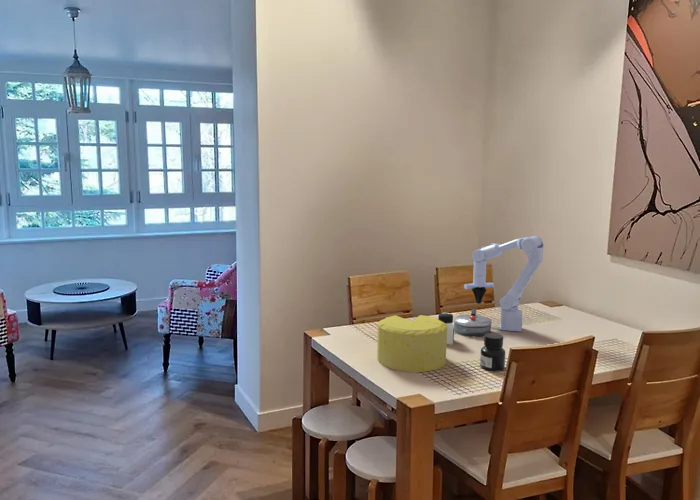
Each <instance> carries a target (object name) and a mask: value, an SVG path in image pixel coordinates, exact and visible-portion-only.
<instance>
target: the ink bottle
mask: <svg viewBox="0 0 700 500" xmlns="http://www.w3.org/2000/svg"><path fill="white" fill-rule="evenodd" d="M483 338H484V339H483V340H484V341H483V346H482V347H481V349H480V358H479V362H480V363H479V366H480V367H481V368H482V369H483V370H487V371H493V372H494V371H498V372H499V371H502V370H504V369H505V367H506V350H505V349H504V348H503V346H504V335H502V334H499V333H493V332H491V333H488V334H485V335H484V336H483Z"/></svg>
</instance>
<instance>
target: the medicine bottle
mask: <svg viewBox="0 0 700 500" xmlns="http://www.w3.org/2000/svg"><path fill="white" fill-rule="evenodd" d="M437 319H438V320H440V321H443V322H444V323H445V324H446V325H447V345H453V344H454V340H455V339H454V338H455V336H454V335H455V332H454V315H453V314H452V313H449V312H442V313H441V312H440V313H439V314H438V316H437Z"/></svg>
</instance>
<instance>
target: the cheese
mask: <svg viewBox="0 0 700 500" xmlns="http://www.w3.org/2000/svg"><path fill="white" fill-rule="evenodd" d="M447 345H448V344H447V325H446V324H445V323H444V322H443V321H440V320H438V318H436V317H432V316H429V315H423V314H420V315H418V316H417V317H416V318H415V319H414V320H413V321H412V320H410V319H407V318H403V317H402V316H398V315H391V316H387V317H385V318H383V319H381V320H379V321H378V324H377V351H376V353H377V356H376V357H377V358H376V360H377V362H378V363H379V364H381V365H382V366H384V367H386V368H389V369H392V370H396V369H397V370H396V371H401V370H402V371H401V372H412V373H413V372H414V373H415V372H416V373H417V372H418V373H419V372H428V371H435V370H438V369H441V368H442V367H444V366H446V362H447Z"/></svg>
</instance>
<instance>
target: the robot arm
mask: <svg viewBox="0 0 700 500" xmlns="http://www.w3.org/2000/svg"><path fill="white" fill-rule="evenodd" d="M544 247H545V244H544V241H543V239H542V238H541V237H540V236H539V235H532V236H526V237H520V238H516V239H513V240H511V241H508V242H505V243H503V244H499V243H495V242H492V243H490V245H487V246H481V248H478V249H475V250H474V251H472V252H471V258H472V260H473V270H472V271H473V276H472V277H473V278H472V283H471V282H470V283H465V284H463V285H464V289H465V290H470V289H471V291H472V292H473V295H474V298H475V302H476V304H478V305H479V304H482V300H483V298H484V296H485V294H486V292H487V288H495V283H493V282H486V281H487V280H486V279H487V260H490V259H493V258H496V257H500V256H501V255H502V253H503V252H506V251H509V250H513V249H519V250H522V251H523V252H524V253H525V255H526V256H527V259H528V261H527V262H526V264H525V265H524V267H523V269H522V270H521V272H520V273H519V275H518V277H517V278H516V280H515V282H514V283H513V285H512V286H511V288H510V289H509V290H508V291H507V293H506V294H505V295H504V296H502V297H501V298H500V299H499V307H500V308H501V309H500V324H499V327H498V328H499V330H500V331H508V332H509V331H512V332H522V330H523V328H522V327H523V310H521V309H519V308H518V306H519V305H520V304H521V299H522V297H523V292H524V291H525V289H526V288H527V286H528V285H529V283H530V281H531V280H532V278H533V277H534V275H535V273H536V272H537V270H538V269H539V267H540V266H541V264H542V262H543V252H544Z"/></svg>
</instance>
